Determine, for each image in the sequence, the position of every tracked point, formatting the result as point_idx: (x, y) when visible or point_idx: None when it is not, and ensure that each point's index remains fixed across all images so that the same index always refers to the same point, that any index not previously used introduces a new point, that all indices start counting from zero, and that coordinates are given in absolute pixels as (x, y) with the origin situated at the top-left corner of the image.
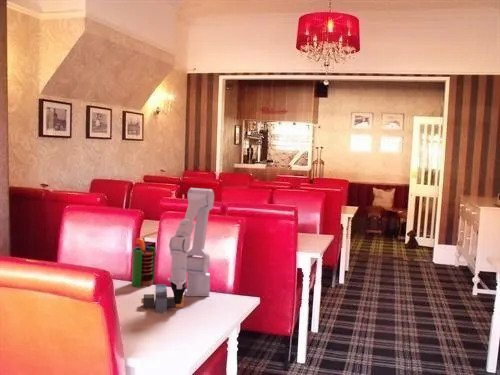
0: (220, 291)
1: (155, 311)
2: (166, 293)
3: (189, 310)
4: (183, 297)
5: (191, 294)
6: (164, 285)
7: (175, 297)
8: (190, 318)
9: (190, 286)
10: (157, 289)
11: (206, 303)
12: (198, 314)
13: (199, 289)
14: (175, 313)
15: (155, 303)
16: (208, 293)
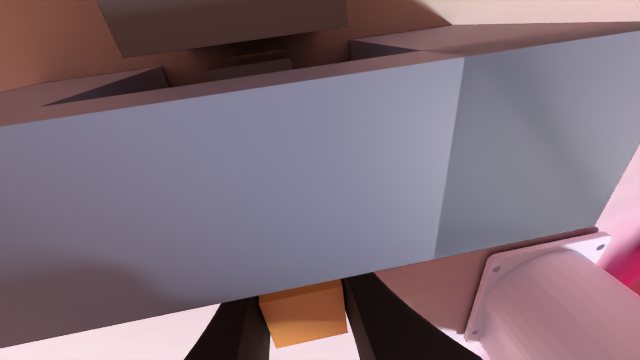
0: None
1: (32, 85)
2: (32, 335)
3: (214, 307)
4: (275, 339)
5: (499, 280)
6: (544, 214)
7: (232, 306)
8: (54, 337)
9: (555, 323)
10: (264, 132)
11: (352, 344)
12: (155, 351)
13: (508, 342)
14: None
15: (262, 54)
16: (481, 342)
